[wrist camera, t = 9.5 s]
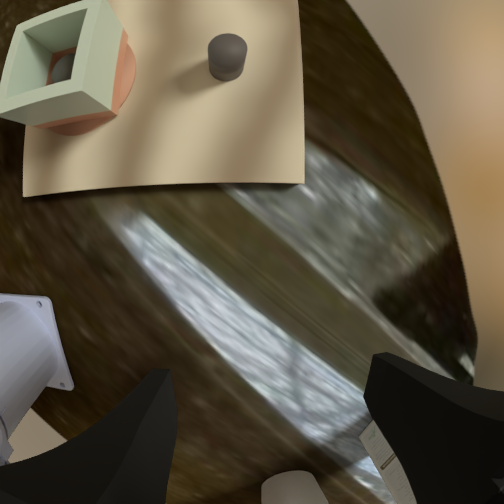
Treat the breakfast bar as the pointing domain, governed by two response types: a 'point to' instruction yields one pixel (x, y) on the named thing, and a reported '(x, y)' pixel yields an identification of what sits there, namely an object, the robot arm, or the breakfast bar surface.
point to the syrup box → (387, 464)
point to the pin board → (186, 102)
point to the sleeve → (83, 74)
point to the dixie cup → (292, 489)
